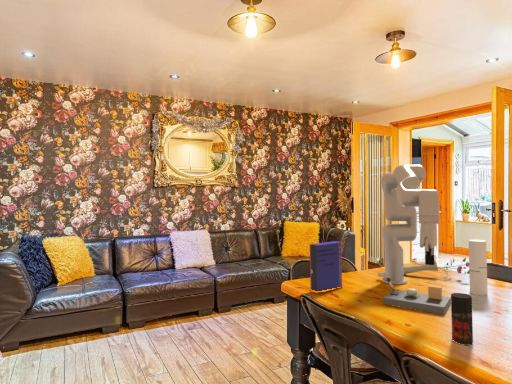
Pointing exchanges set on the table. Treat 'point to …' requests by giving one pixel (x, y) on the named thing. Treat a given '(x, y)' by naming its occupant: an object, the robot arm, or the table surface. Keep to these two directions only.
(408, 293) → the push button
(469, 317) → the deodorant
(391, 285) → the toggle lever
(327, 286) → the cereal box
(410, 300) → the control panel
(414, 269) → the flower vase
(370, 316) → the table surface
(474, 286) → the cylindrical container
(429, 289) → the paddle switch
